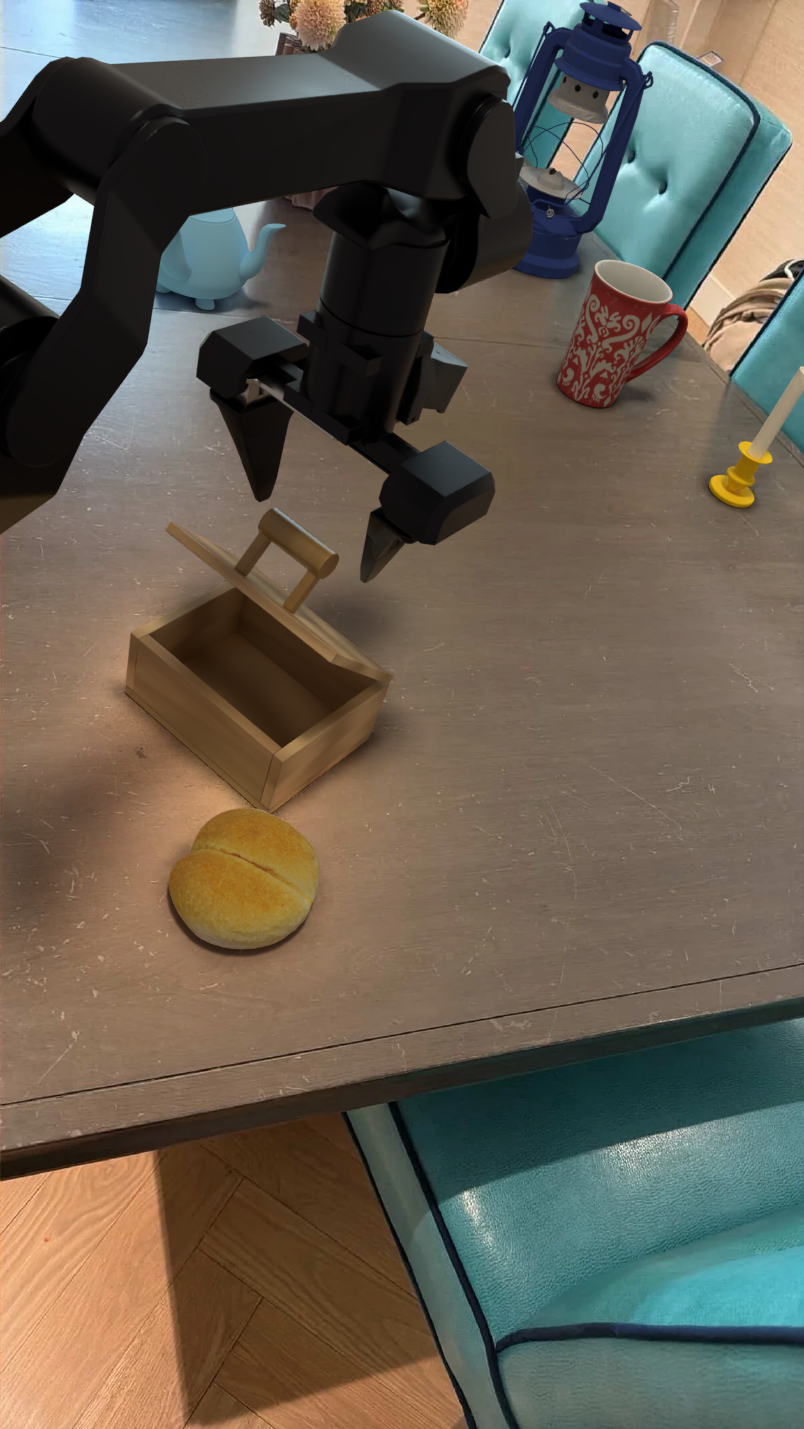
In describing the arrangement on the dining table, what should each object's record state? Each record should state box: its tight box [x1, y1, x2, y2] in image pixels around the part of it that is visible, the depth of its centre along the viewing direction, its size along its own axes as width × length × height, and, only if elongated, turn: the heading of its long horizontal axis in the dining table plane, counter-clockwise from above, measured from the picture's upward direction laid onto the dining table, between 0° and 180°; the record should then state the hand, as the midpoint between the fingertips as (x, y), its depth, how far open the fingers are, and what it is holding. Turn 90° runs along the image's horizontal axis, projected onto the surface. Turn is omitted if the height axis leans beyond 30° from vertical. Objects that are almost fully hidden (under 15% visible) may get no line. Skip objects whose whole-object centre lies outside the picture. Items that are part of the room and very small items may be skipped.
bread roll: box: [168, 808, 320, 950], centre depth 59 cm, size 8×9×4 cm
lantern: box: [511, 0, 655, 280], centre depth 129 cm, size 17×15×30 cm
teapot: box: [156, 207, 287, 311], centre depth 104 cm, size 13×13×10 cm
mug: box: [556, 259, 689, 408], centre depth 112 cm, size 13×9×14 cm
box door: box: [164, 507, 395, 685], centre depth 63 cm, size 11×14×5 cm
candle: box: [708, 365, 804, 509], centre depth 104 cm, size 5×5×16 cm
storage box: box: [124, 581, 390, 814], centre depth 67 cm, size 11×14×6 cm
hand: (314, 538), depth 63 cm, fingers open, 9 cm apart
